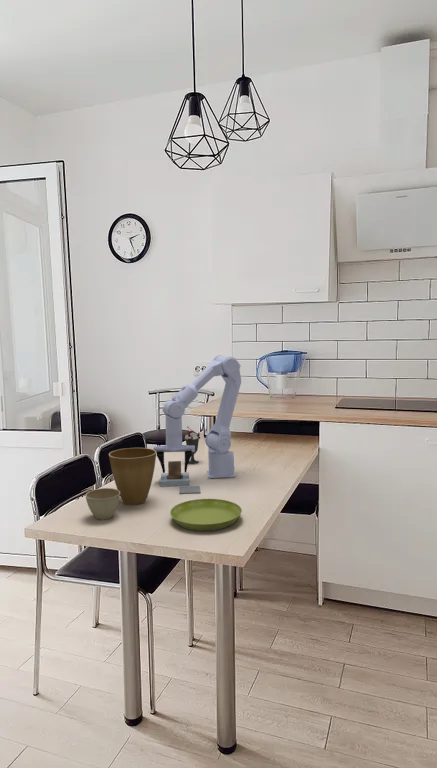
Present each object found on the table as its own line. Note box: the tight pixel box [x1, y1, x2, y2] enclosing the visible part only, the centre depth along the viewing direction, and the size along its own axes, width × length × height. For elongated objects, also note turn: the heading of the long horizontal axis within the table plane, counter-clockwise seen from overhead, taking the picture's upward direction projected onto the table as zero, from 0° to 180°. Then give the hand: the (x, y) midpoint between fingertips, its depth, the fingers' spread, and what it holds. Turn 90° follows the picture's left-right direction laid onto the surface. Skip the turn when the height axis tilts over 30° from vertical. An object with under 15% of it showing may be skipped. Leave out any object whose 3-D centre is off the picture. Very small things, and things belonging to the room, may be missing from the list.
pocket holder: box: [160, 472, 190, 487], centre depth 199 cm, size 10×10×2 cm
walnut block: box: [167, 460, 182, 479], centre depth 199 cm, size 4×4×7 cm
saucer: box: [169, 498, 243, 532], centre depth 162 cm, size 21×21×3 cm
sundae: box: [183, 426, 201, 465], centre depth 224 cm, size 7×7×15 cm
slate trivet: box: [178, 485, 202, 495], centre depth 189 cm, size 7×7×1 cm
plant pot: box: [108, 447, 157, 506], centre depth 178 cm, size 15×15×16 cm
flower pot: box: [85, 487, 121, 521], centre depth 165 cm, size 10×10×7 cm
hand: (174, 471), depth 199 cm, fingers open, 7 cm apart
